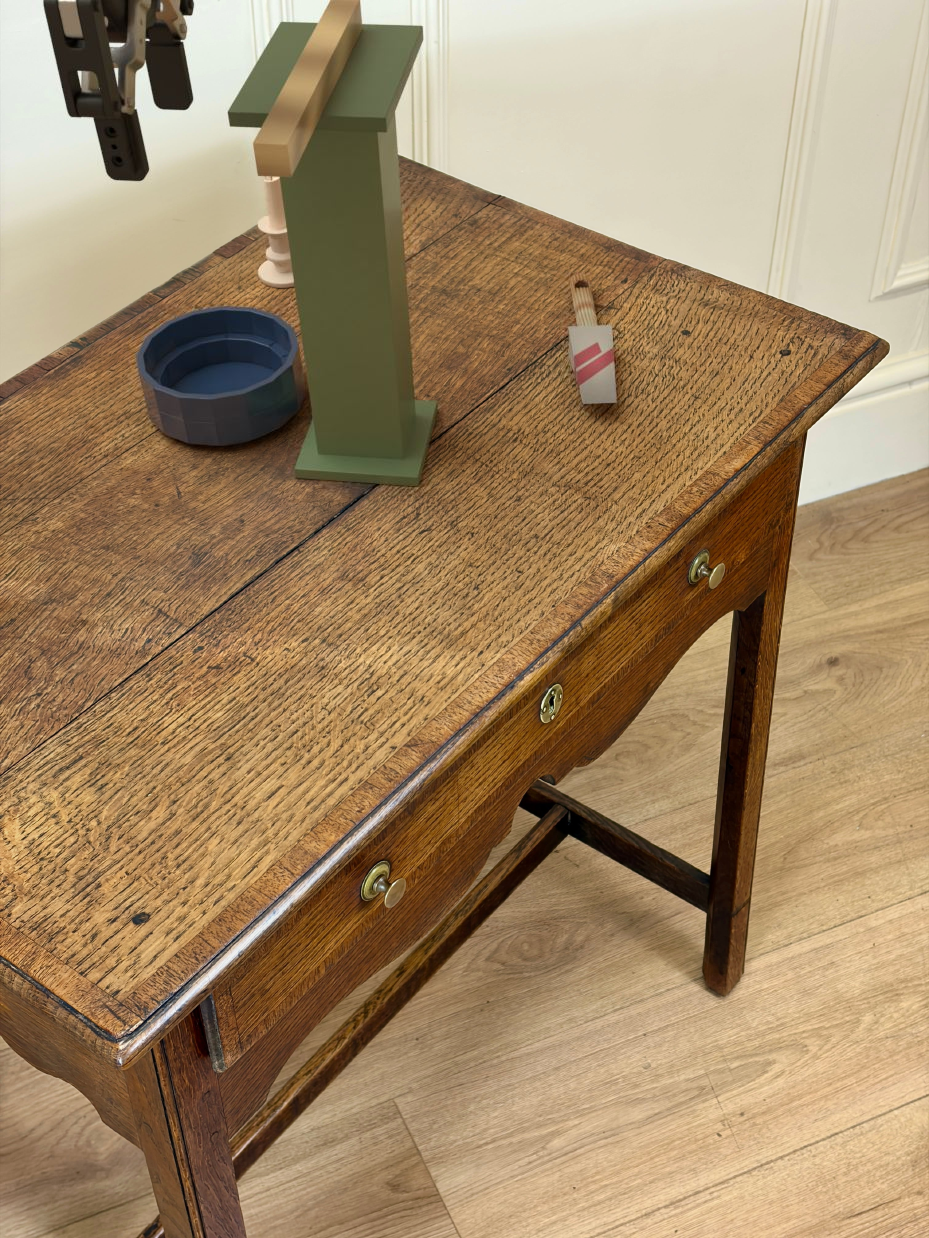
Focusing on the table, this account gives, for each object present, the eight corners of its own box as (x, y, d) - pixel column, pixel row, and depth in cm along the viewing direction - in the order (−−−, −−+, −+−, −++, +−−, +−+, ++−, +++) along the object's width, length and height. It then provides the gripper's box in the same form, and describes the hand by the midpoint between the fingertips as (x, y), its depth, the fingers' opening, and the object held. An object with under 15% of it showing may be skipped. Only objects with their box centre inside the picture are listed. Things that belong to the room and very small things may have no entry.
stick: (291, 177, 74) (287, 144, 73) (257, 176, 74) (252, 143, 73) (362, 29, 89) (360, -1, 87) (334, 28, 89) (331, -2, 87)
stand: (289, 494, 103) (226, 111, 80) (327, 389, 112) (280, 21, 90) (414, 503, 101) (385, 117, 79) (441, 396, 111) (422, 25, 89)
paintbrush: (576, 388, 106) (560, 268, 121) (575, 416, 108) (560, 295, 122) (623, 387, 106) (602, 267, 120) (622, 415, 108) (601, 293, 122)
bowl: (129, 447, 107) (114, 393, 103) (176, 355, 116) (164, 302, 112) (285, 458, 106) (276, 403, 102) (320, 364, 115) (313, 310, 111)
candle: (248, 273, 126) (231, 171, 118) (292, 254, 128) (278, 153, 121) (278, 294, 123) (262, 192, 115) (323, 274, 125) (311, 173, 118)
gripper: (62, -226, 67) (129, 85, 79) (-51, -139, 57) (44, 201, 69) (202, -225, 66) (249, 89, 78) (111, -137, 57) (180, 207, 68)
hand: (153, 141), depth 74 cm, fingers open, 8 cm apart
